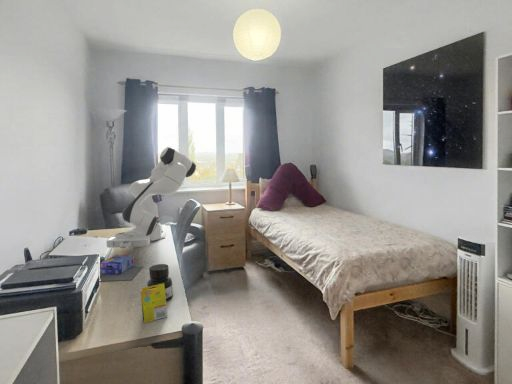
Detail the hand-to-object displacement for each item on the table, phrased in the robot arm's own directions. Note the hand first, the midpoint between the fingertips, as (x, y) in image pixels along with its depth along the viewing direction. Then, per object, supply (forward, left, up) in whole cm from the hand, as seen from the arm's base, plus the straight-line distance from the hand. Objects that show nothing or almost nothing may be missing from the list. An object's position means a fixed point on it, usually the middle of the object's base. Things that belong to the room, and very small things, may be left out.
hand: (123, 246), depth 148 cm
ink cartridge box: (-4, -1, -8) cm, 9 cm away
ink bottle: (+34, +26, -11) cm, 44 cm away
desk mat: (+7, +1, -11) cm, 13 cm away
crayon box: (+49, +28, -11) cm, 57 cm away
